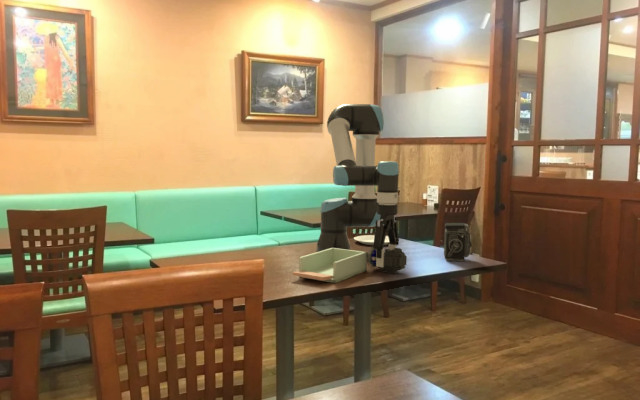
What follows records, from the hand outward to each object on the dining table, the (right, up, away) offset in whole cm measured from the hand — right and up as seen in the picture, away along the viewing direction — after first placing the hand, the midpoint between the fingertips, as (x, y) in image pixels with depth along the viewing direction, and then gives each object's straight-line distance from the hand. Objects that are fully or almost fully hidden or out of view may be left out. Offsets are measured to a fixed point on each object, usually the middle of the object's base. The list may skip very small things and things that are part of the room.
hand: (385, 264), depth 187 cm
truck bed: (-19, -3, -4) cm, 20 cm away
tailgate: (-25, -2, -13) cm, 28 cm away
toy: (0, -3, 0) cm, 3 cm away
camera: (+32, -1, +22) cm, 39 cm away
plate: (+3, +2, +60) cm, 61 cm away
